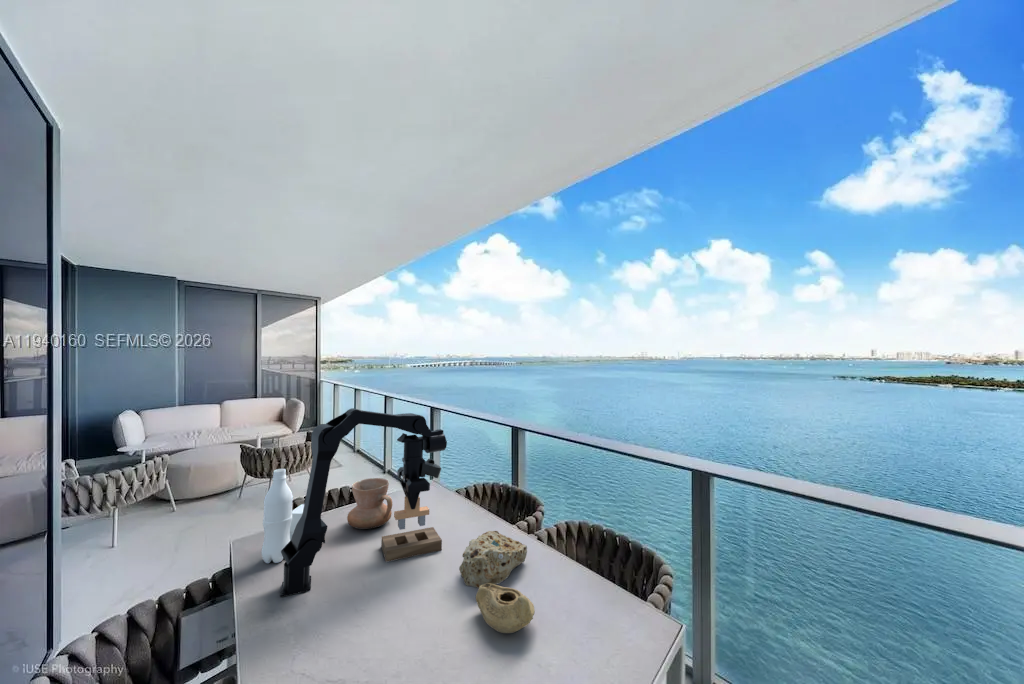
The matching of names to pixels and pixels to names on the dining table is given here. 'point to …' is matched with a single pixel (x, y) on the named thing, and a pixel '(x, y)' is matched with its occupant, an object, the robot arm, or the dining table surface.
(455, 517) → the dining table surface
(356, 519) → the ceramic jug
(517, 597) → the oil lamp
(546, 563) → the dining table surface
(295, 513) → the small box
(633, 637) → the dining table surface
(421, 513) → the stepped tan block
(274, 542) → the water bottle
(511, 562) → the rock
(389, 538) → the brown slotted block
